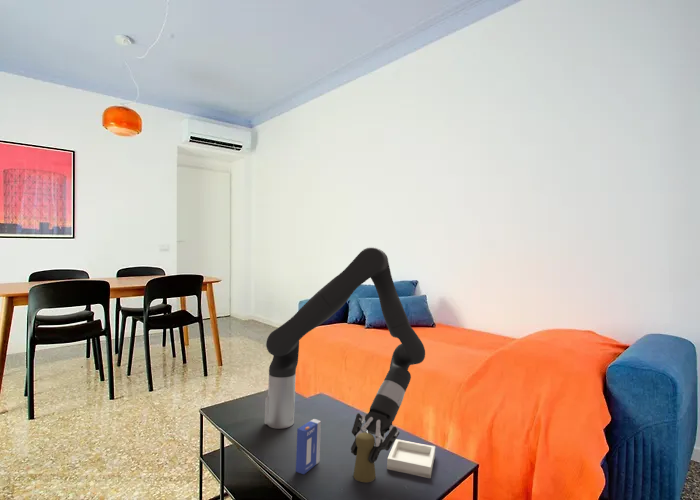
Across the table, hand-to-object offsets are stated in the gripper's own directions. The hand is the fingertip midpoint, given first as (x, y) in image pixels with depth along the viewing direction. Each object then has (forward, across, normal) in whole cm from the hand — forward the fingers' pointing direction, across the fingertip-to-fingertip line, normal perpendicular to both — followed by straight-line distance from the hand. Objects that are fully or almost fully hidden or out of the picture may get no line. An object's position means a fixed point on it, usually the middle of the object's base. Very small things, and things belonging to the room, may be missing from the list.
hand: (361, 457), depth 102 cm
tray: (-7, +6, +15) cm, 18 cm away
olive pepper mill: (+3, 0, +5) cm, 6 cm away
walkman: (+8, -14, 0) cm, 16 cm away
